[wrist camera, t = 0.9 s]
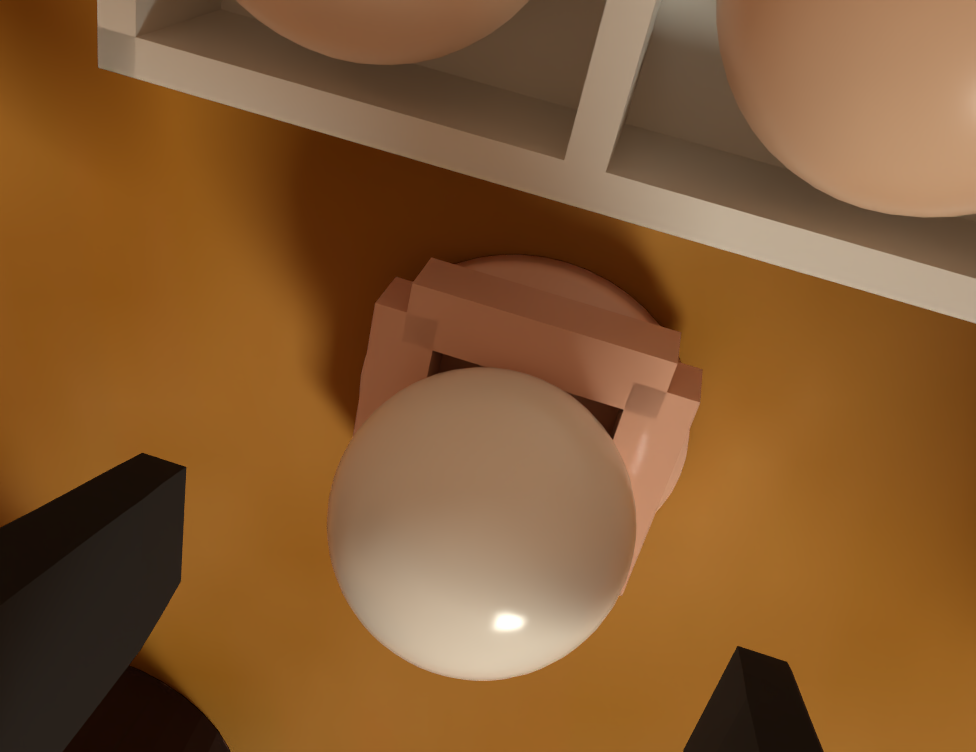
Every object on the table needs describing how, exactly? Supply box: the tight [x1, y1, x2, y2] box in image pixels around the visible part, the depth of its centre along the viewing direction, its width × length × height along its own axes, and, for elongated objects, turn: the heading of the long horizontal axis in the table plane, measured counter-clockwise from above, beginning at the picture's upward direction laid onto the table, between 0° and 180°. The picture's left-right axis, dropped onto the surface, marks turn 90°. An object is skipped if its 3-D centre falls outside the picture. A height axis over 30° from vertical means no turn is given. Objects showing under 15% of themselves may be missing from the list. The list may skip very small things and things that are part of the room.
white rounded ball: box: [327, 367, 637, 681], centre depth 13 cm, size 4×4×4 cm
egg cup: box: [353, 254, 702, 596], centre depth 16 cm, size 6×6×2 cm
